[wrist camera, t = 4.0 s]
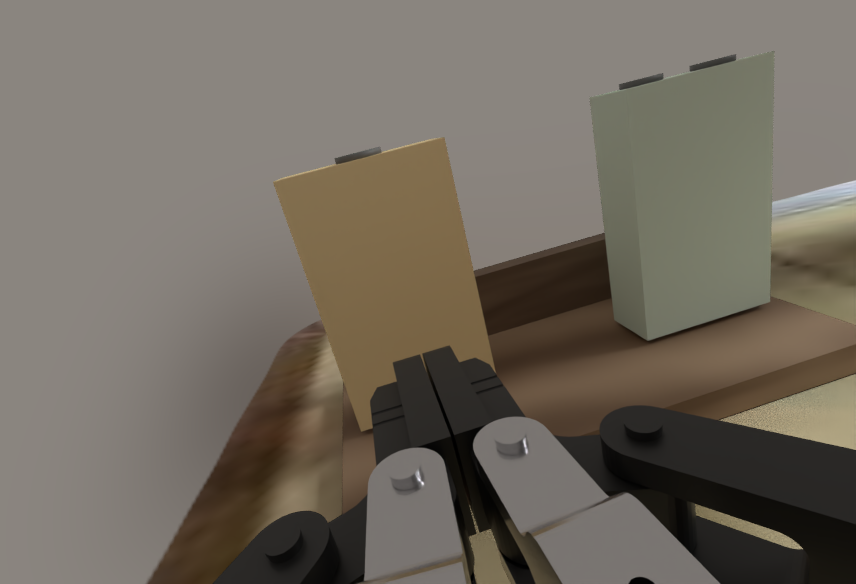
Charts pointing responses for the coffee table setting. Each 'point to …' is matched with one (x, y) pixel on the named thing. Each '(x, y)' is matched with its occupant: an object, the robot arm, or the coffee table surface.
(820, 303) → the coffee table surface
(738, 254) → the tile two
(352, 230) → the tile one
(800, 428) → the coffee table surface
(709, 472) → the robot arm
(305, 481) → the coffee table surface
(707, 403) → the tile rack
